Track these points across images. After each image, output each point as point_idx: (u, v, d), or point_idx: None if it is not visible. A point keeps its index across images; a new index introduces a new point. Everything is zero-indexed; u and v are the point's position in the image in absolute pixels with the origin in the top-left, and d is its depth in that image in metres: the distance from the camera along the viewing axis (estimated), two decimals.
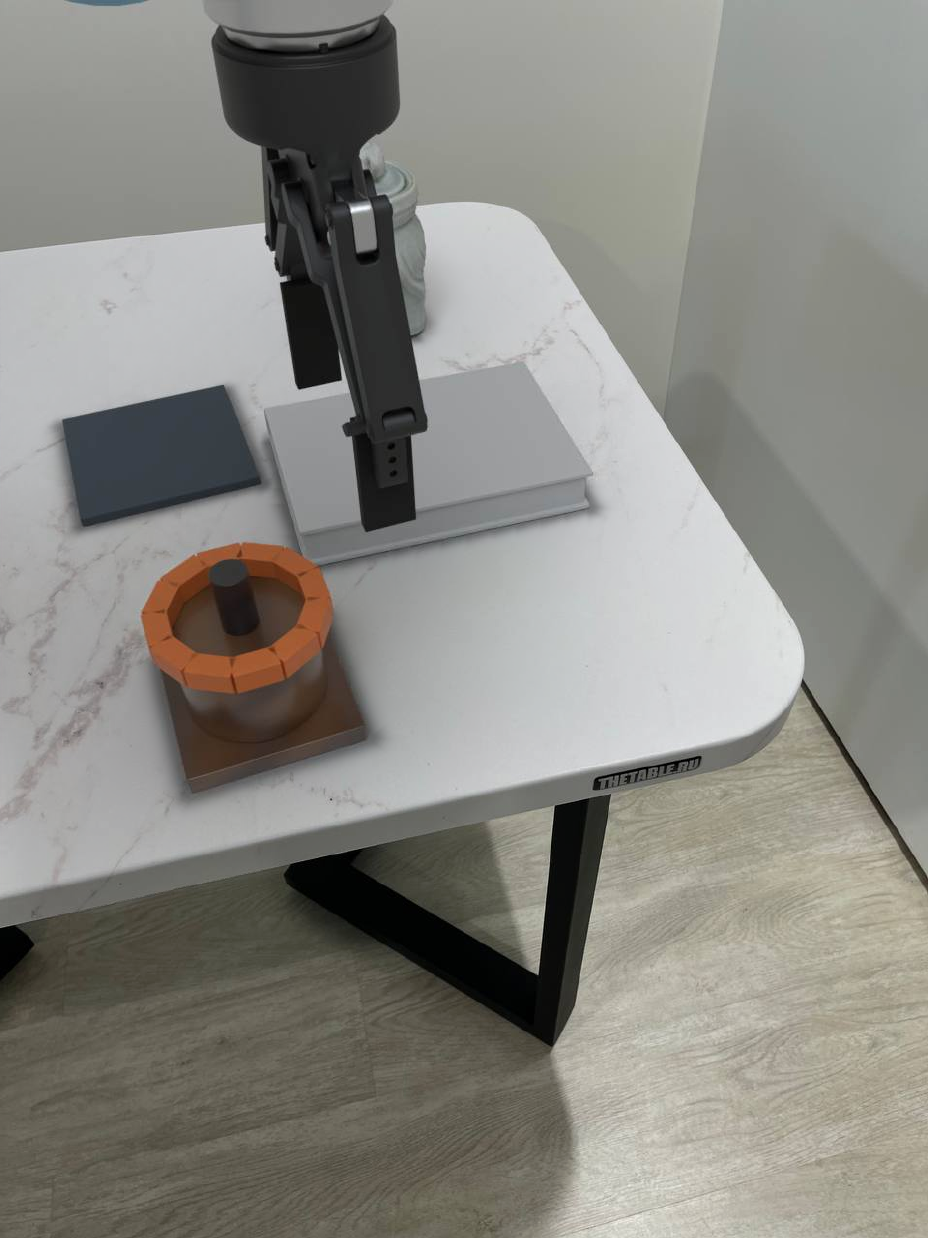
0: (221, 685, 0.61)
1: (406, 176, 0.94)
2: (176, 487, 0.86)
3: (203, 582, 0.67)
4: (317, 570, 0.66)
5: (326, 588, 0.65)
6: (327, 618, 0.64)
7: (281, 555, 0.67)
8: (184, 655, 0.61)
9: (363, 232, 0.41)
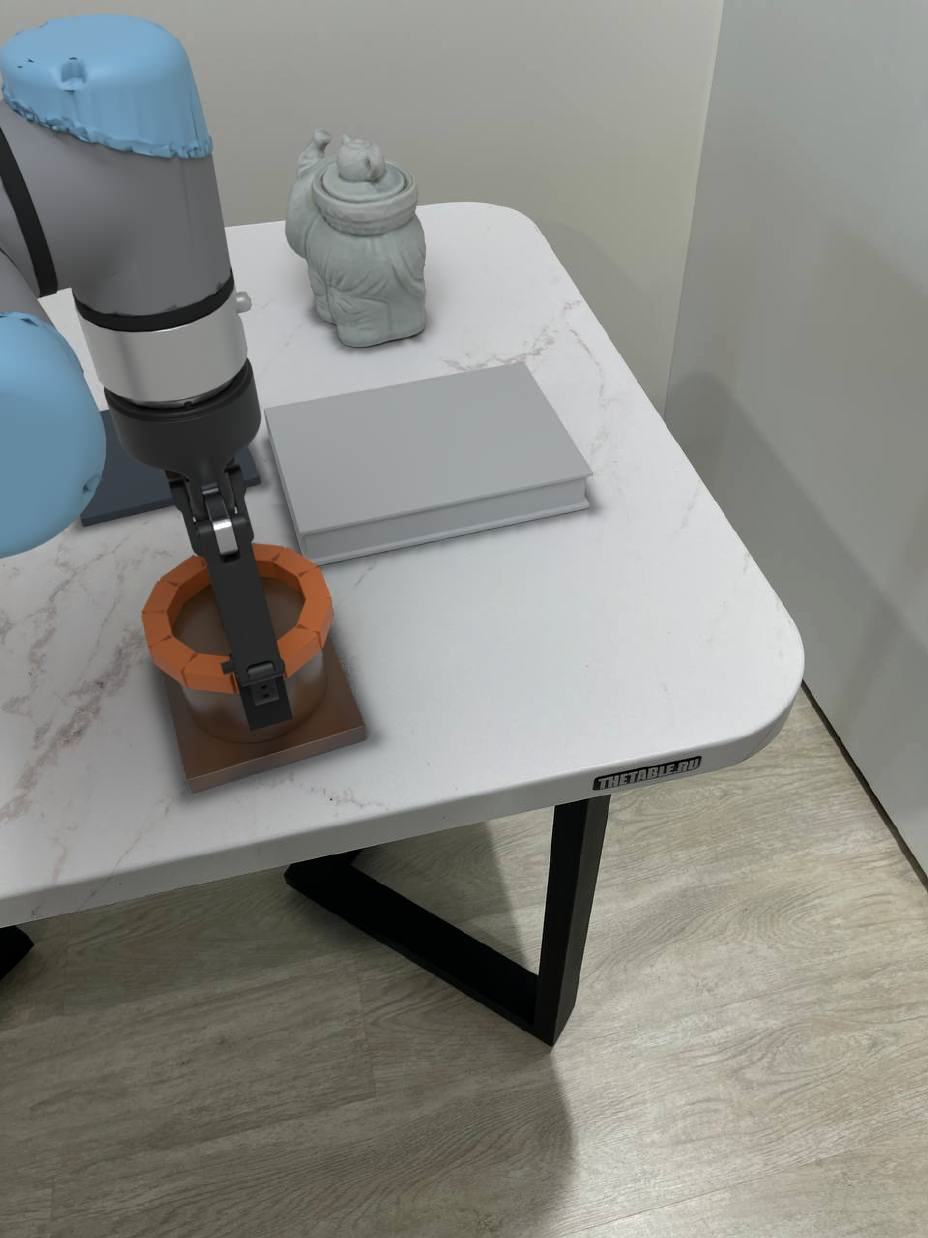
0: (221, 685, 0.61)
1: (406, 176, 0.94)
2: None
3: (203, 582, 0.67)
4: (317, 570, 0.66)
5: (326, 588, 0.65)
6: (327, 618, 0.64)
7: (281, 555, 0.67)
8: (184, 655, 0.61)
9: (225, 543, 0.51)
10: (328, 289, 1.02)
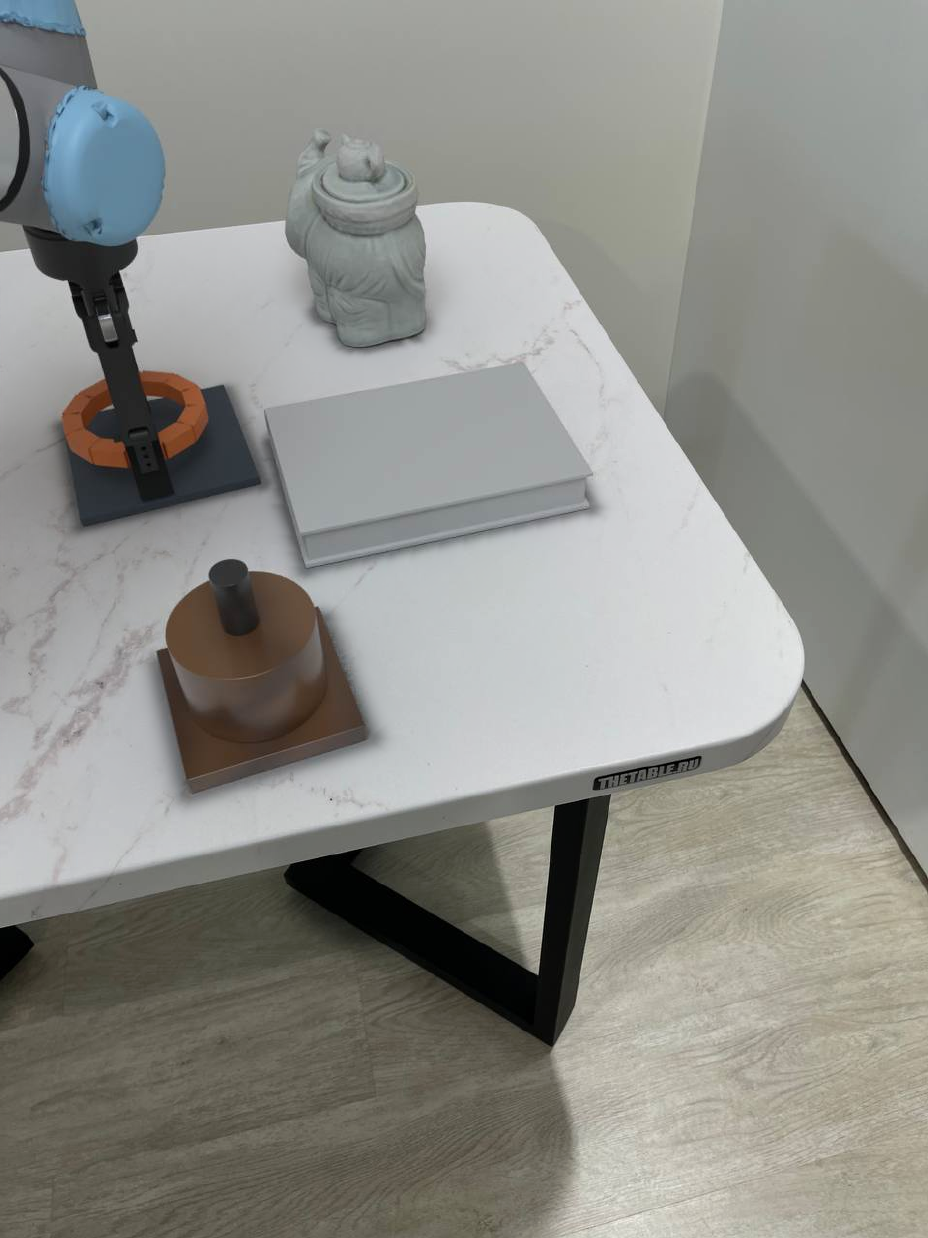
0: (118, 460, 0.82)
1: (406, 176, 0.94)
2: (176, 487, 0.86)
3: None
4: (197, 387, 0.87)
5: (202, 399, 0.86)
6: (201, 419, 0.85)
7: (171, 378, 0.88)
8: (91, 439, 0.82)
9: (108, 332, 0.73)
10: (328, 289, 1.02)
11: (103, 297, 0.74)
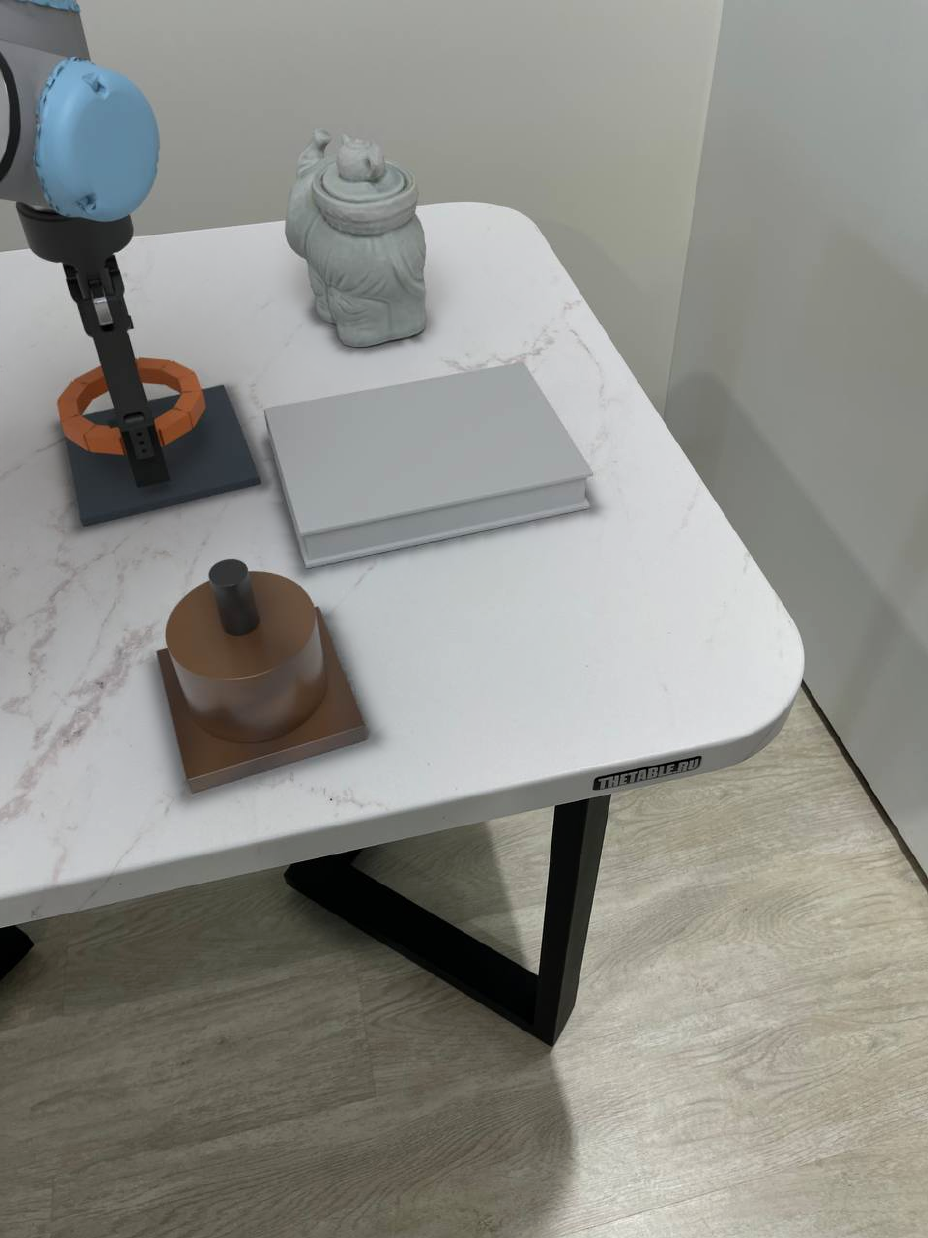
0: (114, 447, 0.81)
1: (406, 176, 0.94)
2: (176, 487, 0.86)
3: None
4: (193, 374, 0.86)
5: (199, 385, 0.85)
6: (198, 405, 0.84)
7: (167, 365, 0.87)
8: (86, 426, 0.82)
9: (103, 315, 0.72)
10: (328, 289, 1.02)
11: (98, 280, 0.73)
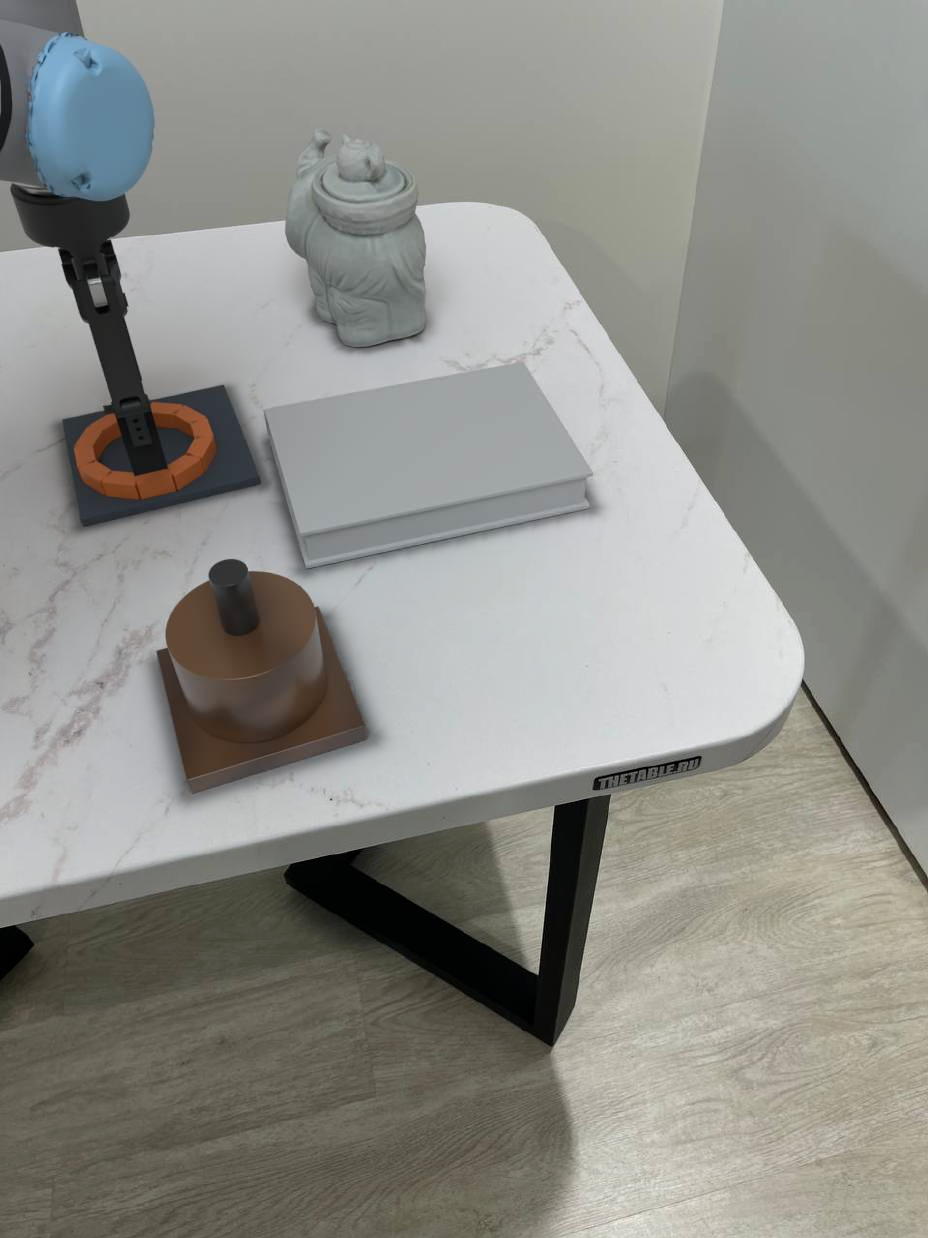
0: (129, 492, 0.84)
1: (406, 176, 0.94)
2: None
3: None
4: (205, 419, 0.90)
5: (210, 430, 0.89)
6: (210, 450, 0.88)
7: (180, 410, 0.91)
8: (103, 472, 0.85)
9: (97, 295, 0.71)
10: (328, 289, 1.02)
11: (94, 264, 0.73)
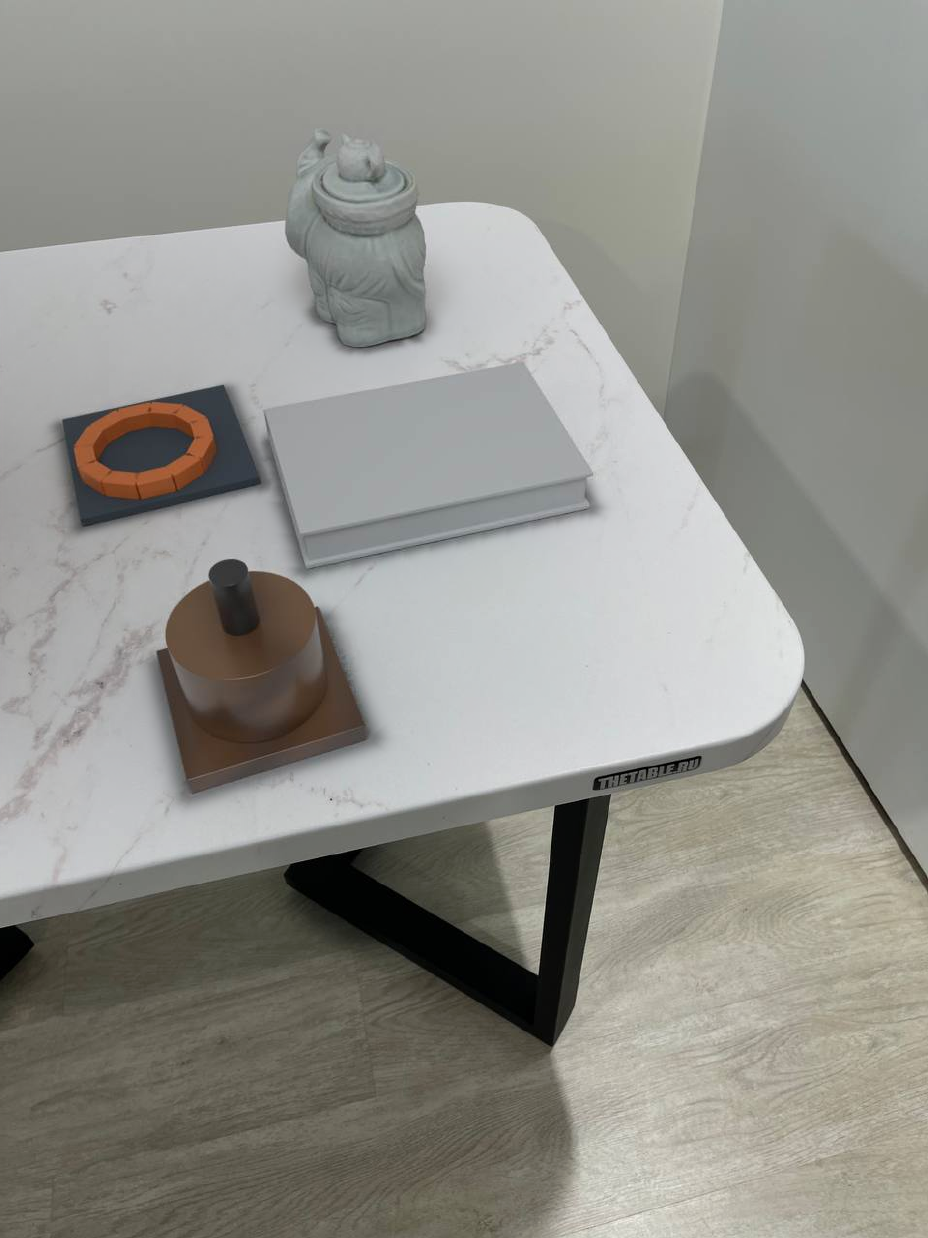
0: (129, 492, 0.84)
1: (406, 176, 0.94)
2: None
3: (122, 430, 0.91)
4: (205, 419, 0.90)
5: (210, 430, 0.89)
6: (210, 450, 0.88)
7: (180, 410, 0.91)
8: (103, 472, 0.85)
9: None
10: (328, 289, 1.02)
11: None
